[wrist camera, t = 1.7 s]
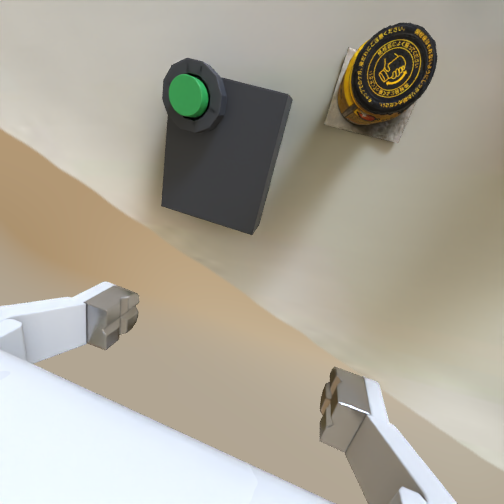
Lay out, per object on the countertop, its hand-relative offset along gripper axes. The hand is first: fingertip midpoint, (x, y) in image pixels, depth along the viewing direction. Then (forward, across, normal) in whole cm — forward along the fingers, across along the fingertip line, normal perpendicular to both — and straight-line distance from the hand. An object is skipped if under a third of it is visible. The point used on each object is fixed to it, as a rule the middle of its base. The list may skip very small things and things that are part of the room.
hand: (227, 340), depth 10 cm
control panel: (+26, +11, -6) cm, 29 cm away
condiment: (+26, -4, -15) cm, 30 cm away
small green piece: (+20, +13, -11) cm, 26 cm away
